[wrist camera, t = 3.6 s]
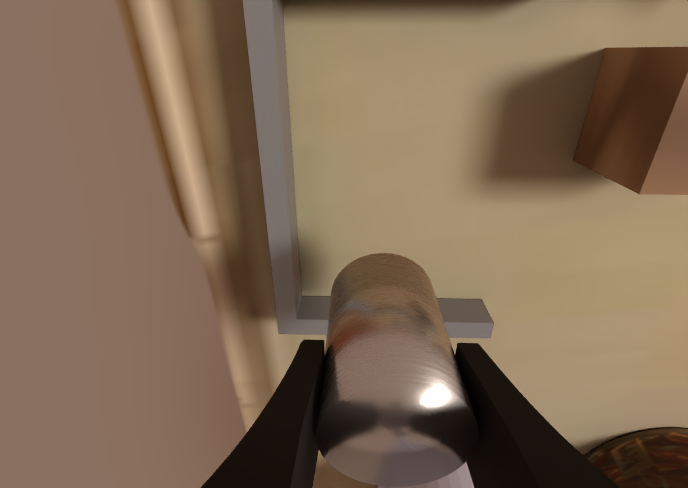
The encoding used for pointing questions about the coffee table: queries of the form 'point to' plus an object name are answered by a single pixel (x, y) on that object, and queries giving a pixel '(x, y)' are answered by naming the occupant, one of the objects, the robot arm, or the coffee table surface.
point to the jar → (645, 459)
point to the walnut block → (639, 120)
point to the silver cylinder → (391, 379)
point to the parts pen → (280, 193)
